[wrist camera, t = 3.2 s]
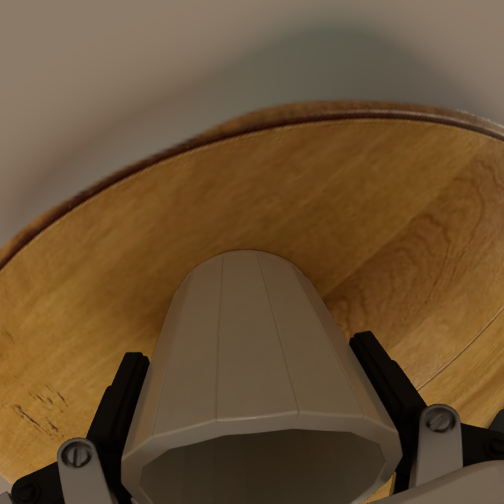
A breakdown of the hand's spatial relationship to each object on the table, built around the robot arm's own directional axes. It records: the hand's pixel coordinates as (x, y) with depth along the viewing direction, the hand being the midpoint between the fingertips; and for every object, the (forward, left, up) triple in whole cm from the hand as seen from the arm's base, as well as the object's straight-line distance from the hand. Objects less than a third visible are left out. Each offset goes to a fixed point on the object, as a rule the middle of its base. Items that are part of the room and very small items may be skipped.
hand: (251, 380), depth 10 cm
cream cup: (0, 0, -4) cm, 4 cm away
